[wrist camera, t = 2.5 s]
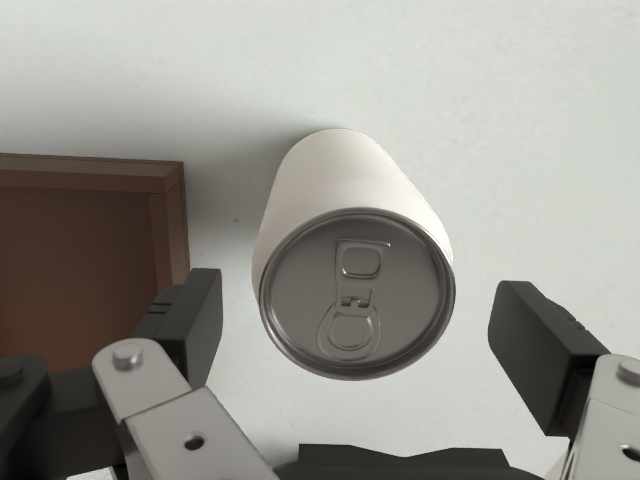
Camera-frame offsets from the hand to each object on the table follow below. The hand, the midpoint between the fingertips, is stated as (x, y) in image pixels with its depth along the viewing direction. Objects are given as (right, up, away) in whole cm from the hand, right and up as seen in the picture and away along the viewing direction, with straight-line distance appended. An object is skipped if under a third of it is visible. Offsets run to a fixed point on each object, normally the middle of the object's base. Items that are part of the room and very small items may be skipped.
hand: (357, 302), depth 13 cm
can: (0, +5, +11) cm, 12 cm away
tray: (-15, -1, +13) cm, 20 cm away
